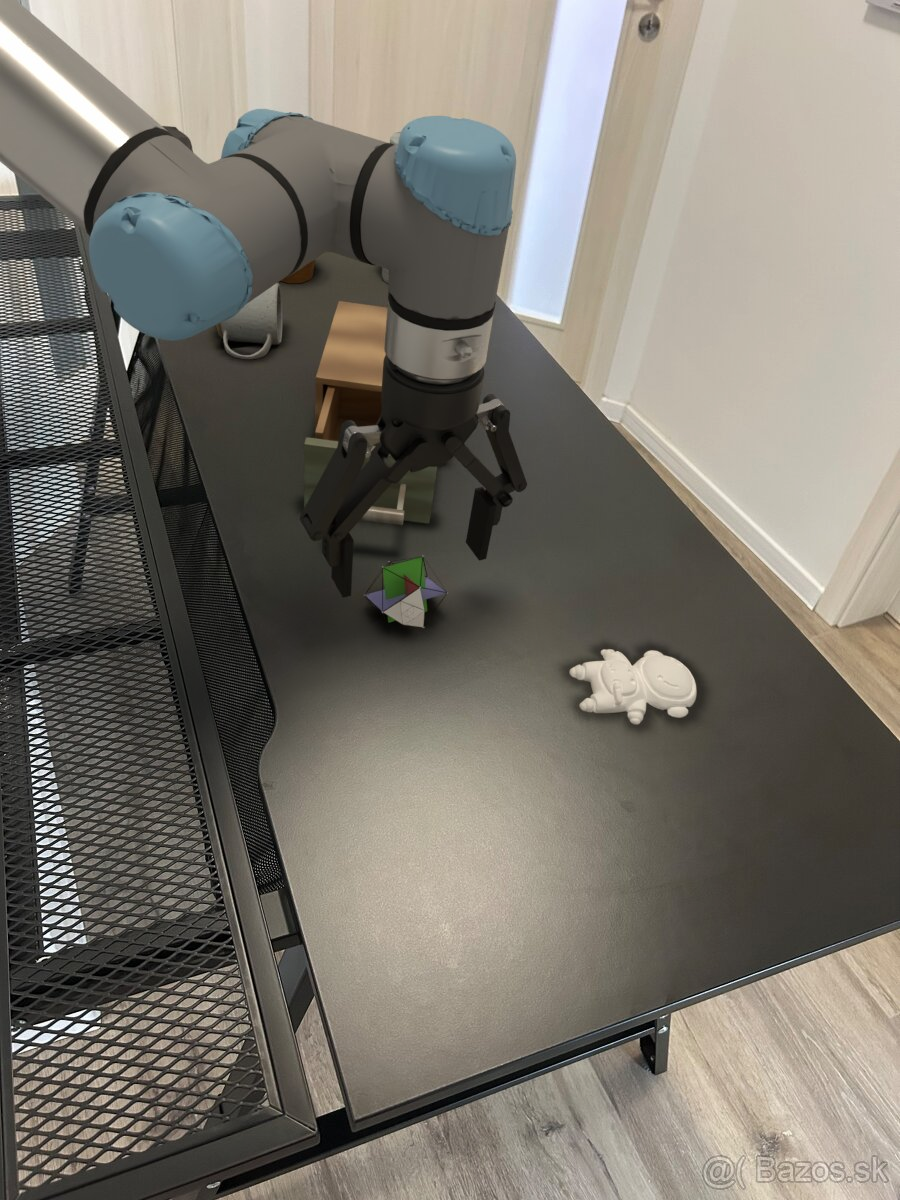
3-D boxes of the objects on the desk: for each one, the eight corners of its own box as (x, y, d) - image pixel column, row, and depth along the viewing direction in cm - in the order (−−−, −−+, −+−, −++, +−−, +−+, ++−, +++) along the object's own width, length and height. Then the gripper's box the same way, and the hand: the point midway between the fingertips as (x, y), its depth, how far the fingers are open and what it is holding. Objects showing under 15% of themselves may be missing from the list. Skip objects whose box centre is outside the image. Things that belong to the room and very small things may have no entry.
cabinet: (439, 469, 99) (450, 395, 92) (314, 453, 99) (315, 376, 91) (447, 388, 112) (457, 317, 104) (336, 373, 111) (338, 300, 104)
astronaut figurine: (562, 654, 82) (569, 633, 79) (681, 657, 83) (691, 636, 81) (578, 729, 76) (586, 709, 73) (706, 731, 77) (718, 711, 75)
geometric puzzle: (349, 574, 82) (373, 558, 75) (412, 556, 85) (442, 540, 78) (371, 644, 82) (397, 636, 75) (434, 625, 85) (465, 615, 78)
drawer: (425, 560, 87) (434, 497, 81) (294, 544, 86) (293, 479, 80) (438, 435, 103) (446, 374, 97) (327, 420, 102) (328, 358, 96)
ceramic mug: (222, 322, 116) (218, 268, 111) (283, 326, 117) (282, 273, 112) (213, 364, 109) (208, 309, 103) (278, 368, 110) (277, 314, 105)
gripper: (290, 415, 55) (294, 633, 70) (601, 360, 65) (546, 562, 80) (253, 357, 60) (264, 573, 75) (550, 314, 70) (507, 513, 85)
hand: (410, 568), depth 78 cm, fingers open, 13 cm apart
